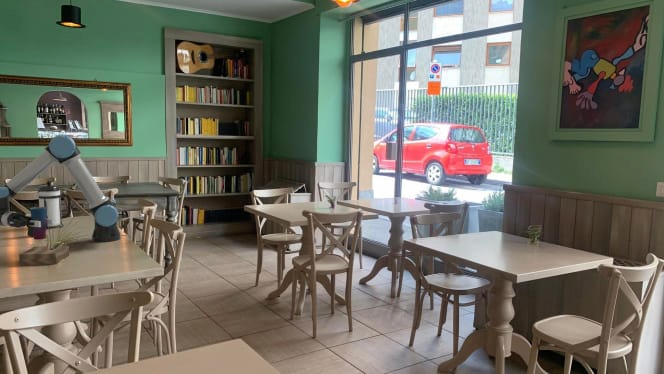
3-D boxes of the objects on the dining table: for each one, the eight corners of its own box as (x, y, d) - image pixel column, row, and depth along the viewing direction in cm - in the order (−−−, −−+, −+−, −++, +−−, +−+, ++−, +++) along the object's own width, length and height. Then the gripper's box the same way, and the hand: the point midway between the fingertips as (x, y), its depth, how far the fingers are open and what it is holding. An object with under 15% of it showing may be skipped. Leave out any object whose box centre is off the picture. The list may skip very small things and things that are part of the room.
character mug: (44, 234, 306) (43, 212, 304) (43, 236, 299) (42, 214, 298) (23, 235, 301) (21, 214, 299) (22, 238, 294) (21, 216, 293)
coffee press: (58, 229, 320) (55, 182, 316) (33, 229, 320) (30, 182, 317) (72, 224, 337) (70, 179, 334) (48, 224, 337) (46, 179, 334)
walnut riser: (69, 255, 254) (68, 245, 253) (56, 263, 238) (55, 253, 238) (34, 256, 252) (34, 246, 251) (19, 265, 236) (19, 254, 236)
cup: (31, 240, 243) (29, 209, 241) (32, 237, 249) (30, 207, 247) (47, 239, 246) (45, 208, 244) (48, 236, 252) (46, 206, 250)
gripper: (32, 223, 262) (64, 227, 253) (-5, 230, 245) (28, 234, 236) (31, 209, 262) (63, 212, 252) (-6, 214, 244) (27, 218, 235)
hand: (46, 223), depth 244 cm, fingers closed on cup, 6 cm apart
